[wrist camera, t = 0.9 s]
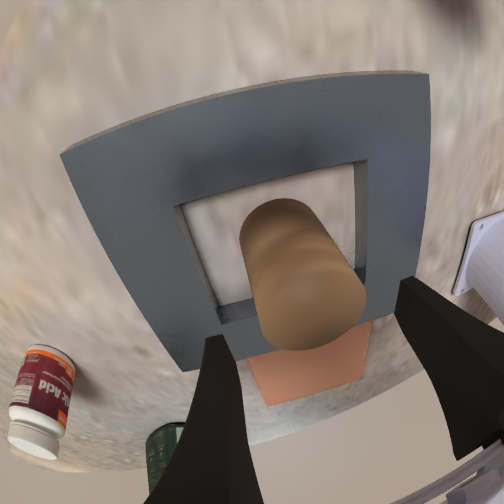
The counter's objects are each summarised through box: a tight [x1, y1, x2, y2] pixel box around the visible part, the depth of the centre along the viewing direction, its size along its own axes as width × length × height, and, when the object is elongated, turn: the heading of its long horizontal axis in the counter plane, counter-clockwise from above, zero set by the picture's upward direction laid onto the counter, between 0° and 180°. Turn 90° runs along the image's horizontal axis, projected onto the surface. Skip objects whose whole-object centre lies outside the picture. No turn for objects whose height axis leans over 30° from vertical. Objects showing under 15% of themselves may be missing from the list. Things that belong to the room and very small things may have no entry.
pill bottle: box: [8, 345, 75, 460], centre depth 16 cm, size 5×5×8 cm
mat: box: [247, 321, 372, 407], centre depth 24 cm, size 10×10×1 cm
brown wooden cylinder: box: [240, 198, 367, 351], centre depth 14 cm, size 4×4×6 cm
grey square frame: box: [60, 71, 431, 372], centre depth 16 cm, size 17×16×2 cm
